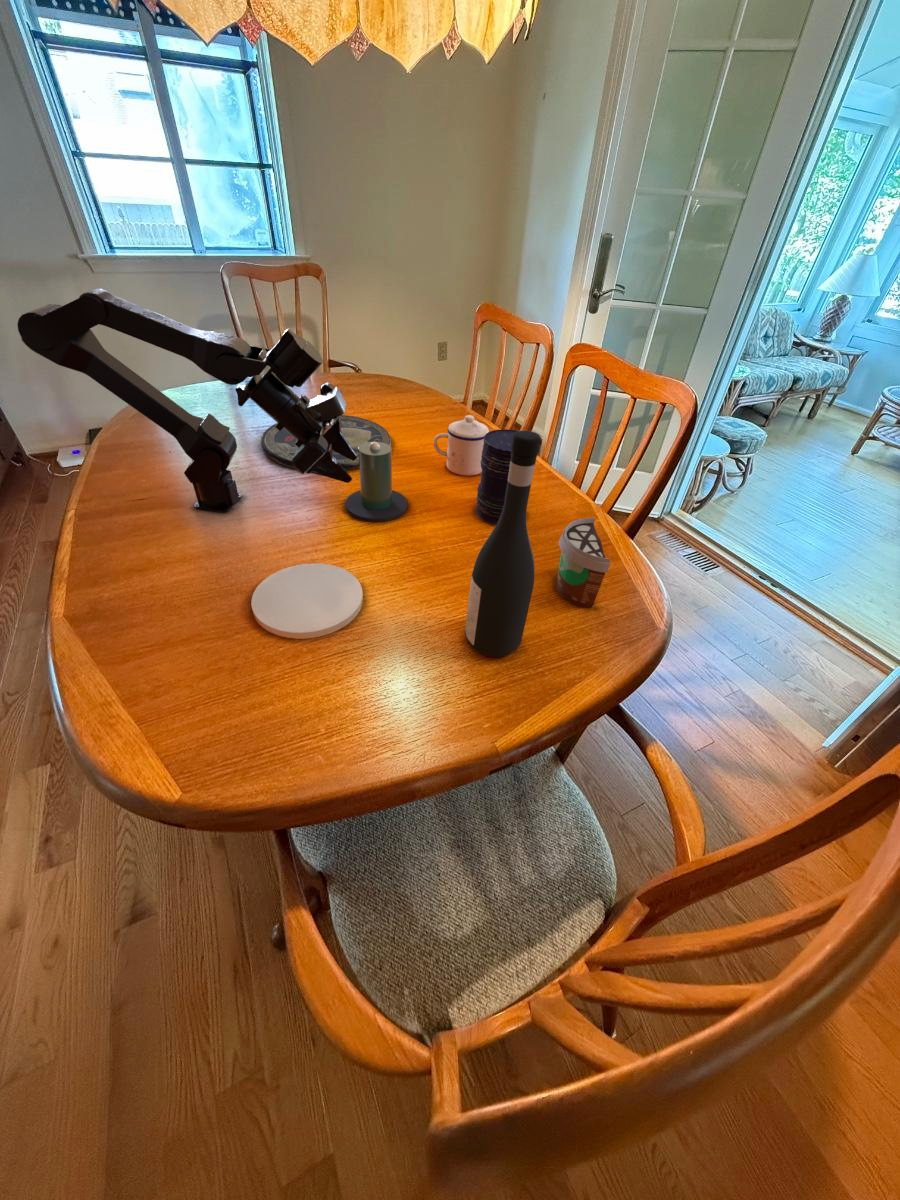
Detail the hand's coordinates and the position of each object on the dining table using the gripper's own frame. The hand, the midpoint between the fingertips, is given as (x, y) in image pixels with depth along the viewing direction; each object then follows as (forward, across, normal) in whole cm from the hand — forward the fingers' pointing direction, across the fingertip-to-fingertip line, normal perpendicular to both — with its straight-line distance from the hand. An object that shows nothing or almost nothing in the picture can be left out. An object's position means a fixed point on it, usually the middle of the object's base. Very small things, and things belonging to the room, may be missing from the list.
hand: (353, 469), depth 92 cm
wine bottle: (+22, -37, -11) cm, 44 cm away
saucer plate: (+2, -29, +8) cm, 30 cm away
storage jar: (+25, -1, -15) cm, 29 cm away
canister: (+8, 0, +2) cm, 8 cm away
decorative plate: (-1, +28, +12) cm, 31 cm away
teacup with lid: (+20, +19, -10) cm, 30 cm away
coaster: (+8, 0, +2) cm, 9 cm away
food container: (+31, -24, -21) cm, 45 cm away
